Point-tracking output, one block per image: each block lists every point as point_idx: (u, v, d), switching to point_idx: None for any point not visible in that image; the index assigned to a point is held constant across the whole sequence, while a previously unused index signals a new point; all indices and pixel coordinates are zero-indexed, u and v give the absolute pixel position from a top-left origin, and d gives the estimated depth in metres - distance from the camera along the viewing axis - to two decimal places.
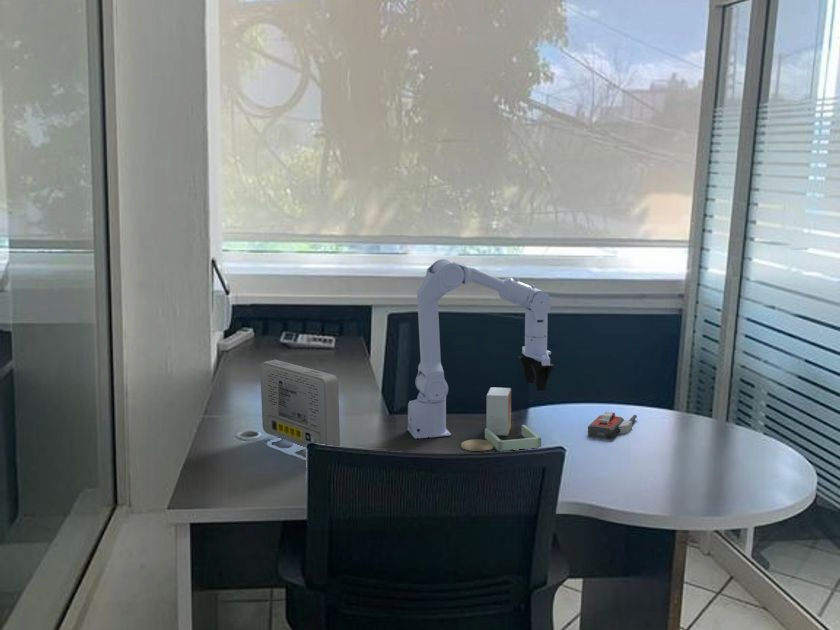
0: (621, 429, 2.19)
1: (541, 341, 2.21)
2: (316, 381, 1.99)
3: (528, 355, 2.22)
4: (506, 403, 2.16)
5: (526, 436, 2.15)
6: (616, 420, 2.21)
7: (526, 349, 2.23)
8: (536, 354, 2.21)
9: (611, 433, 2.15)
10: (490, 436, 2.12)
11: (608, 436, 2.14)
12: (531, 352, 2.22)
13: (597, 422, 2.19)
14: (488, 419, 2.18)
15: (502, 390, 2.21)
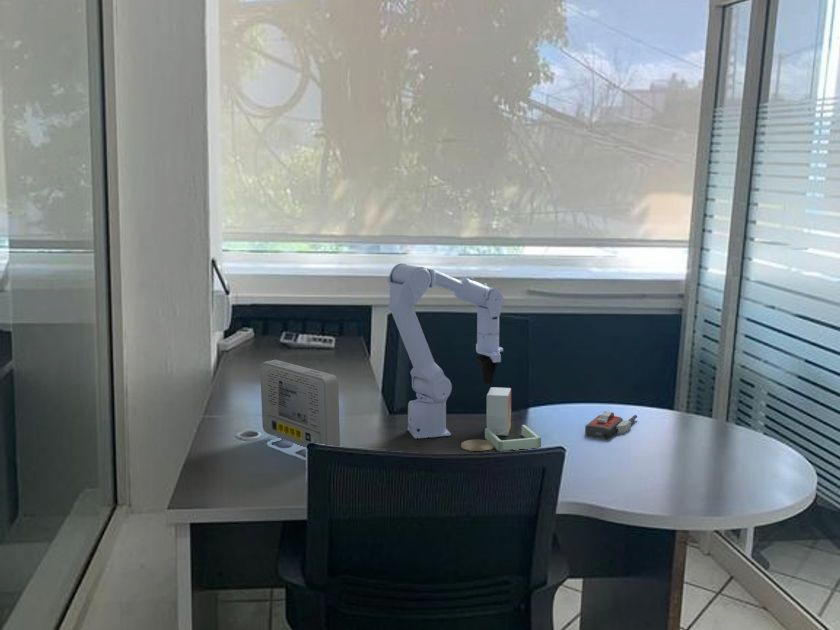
0: (619, 429, 2.18)
1: (493, 338, 2.24)
2: (316, 381, 1.99)
3: (480, 352, 2.25)
4: (506, 403, 2.16)
5: (526, 436, 2.15)
6: (614, 420, 2.21)
7: (478, 346, 2.26)
8: (488, 351, 2.24)
9: (608, 433, 2.15)
10: (490, 436, 2.12)
11: (605, 436, 2.14)
12: (483, 349, 2.25)
13: (595, 422, 2.20)
14: (488, 419, 2.18)
15: (502, 390, 2.21)
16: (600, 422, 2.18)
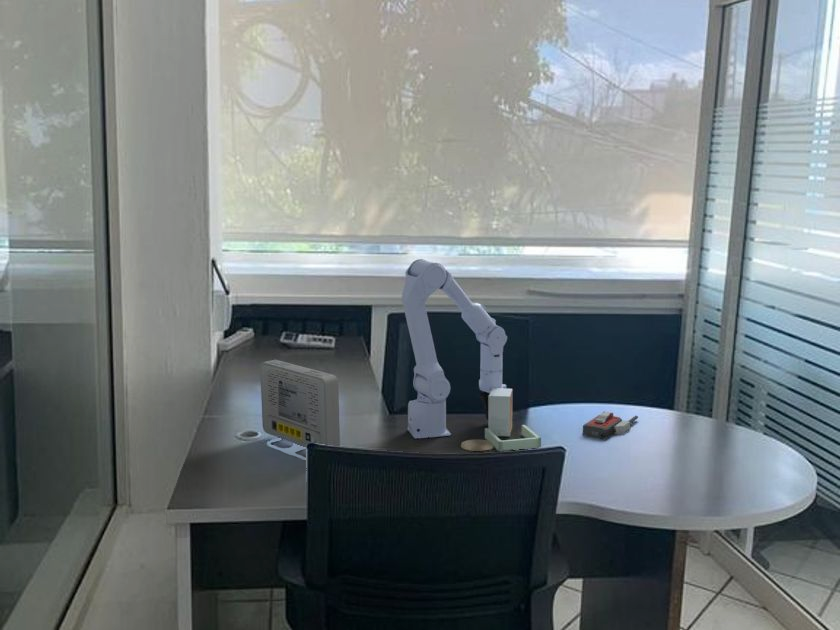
0: (617, 429, 2.18)
1: (496, 376, 2.23)
2: (316, 381, 1.99)
3: (483, 389, 2.24)
4: (508, 404, 2.15)
5: (526, 436, 2.15)
6: (613, 420, 2.21)
7: (481, 383, 2.25)
8: (491, 388, 2.23)
9: (605, 433, 2.15)
10: (490, 436, 2.12)
11: (601, 436, 2.14)
12: (486, 386, 2.24)
13: (593, 421, 2.20)
14: (490, 420, 2.17)
15: (504, 391, 2.20)
16: (598, 422, 2.18)
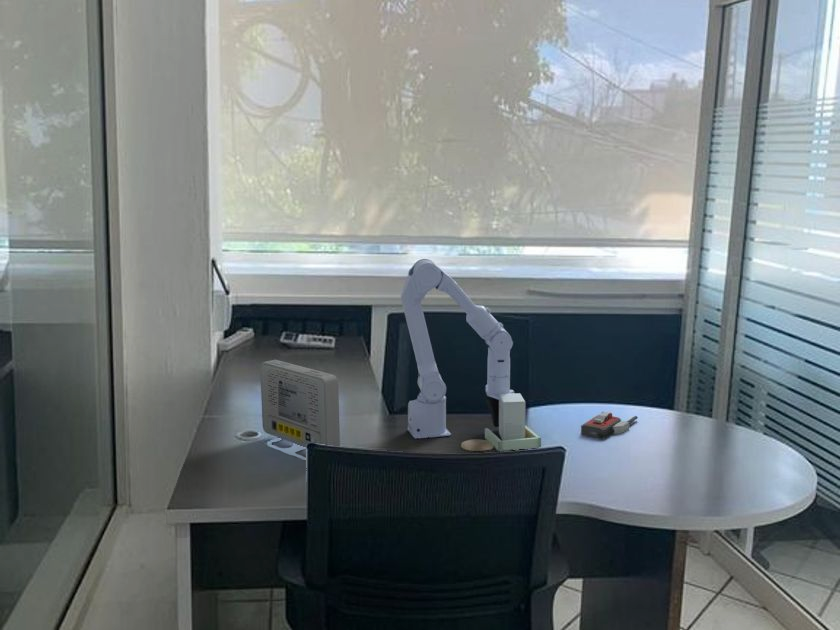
0: (615, 429, 2.18)
1: (503, 381, 2.17)
2: (316, 381, 1.99)
3: (490, 395, 2.18)
4: (523, 409, 2.11)
5: (526, 436, 2.15)
6: (612, 420, 2.21)
7: (488, 389, 2.19)
8: (498, 394, 2.18)
9: (603, 433, 2.15)
10: (490, 436, 2.12)
11: (599, 436, 2.14)
12: (493, 392, 2.18)
13: (591, 421, 2.20)
14: (505, 427, 2.11)
15: (514, 396, 2.15)
16: (596, 422, 2.19)
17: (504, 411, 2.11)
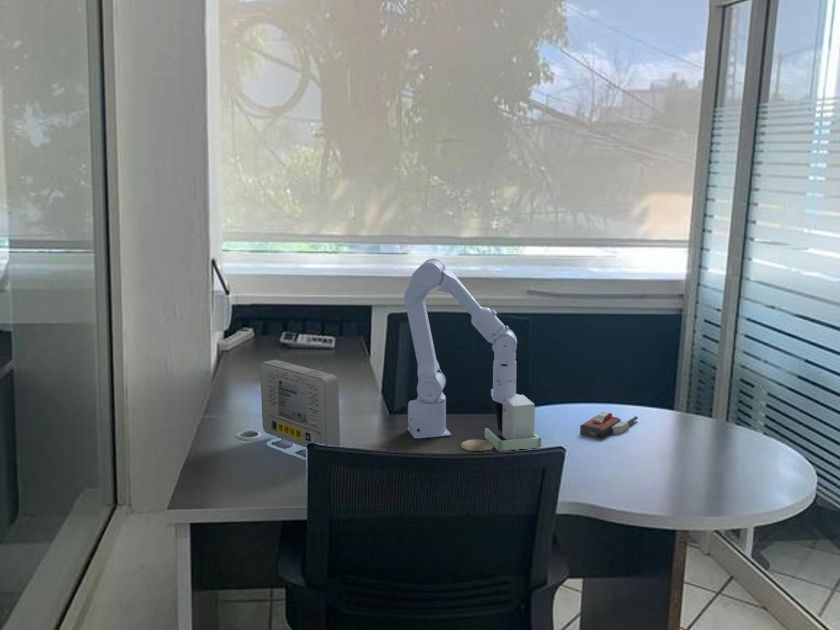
0: (614, 429, 2.18)
1: (509, 385, 2.13)
2: (316, 381, 1.99)
3: (496, 400, 2.14)
4: (533, 412, 2.09)
5: None
6: (611, 420, 2.21)
7: (494, 393, 2.15)
8: None
9: (602, 433, 2.15)
10: (490, 436, 2.12)
11: (598, 436, 2.14)
12: (499, 397, 2.14)
13: (591, 421, 2.20)
14: (515, 430, 2.09)
15: (520, 398, 2.12)
16: (595, 422, 2.19)
17: (514, 415, 2.08)
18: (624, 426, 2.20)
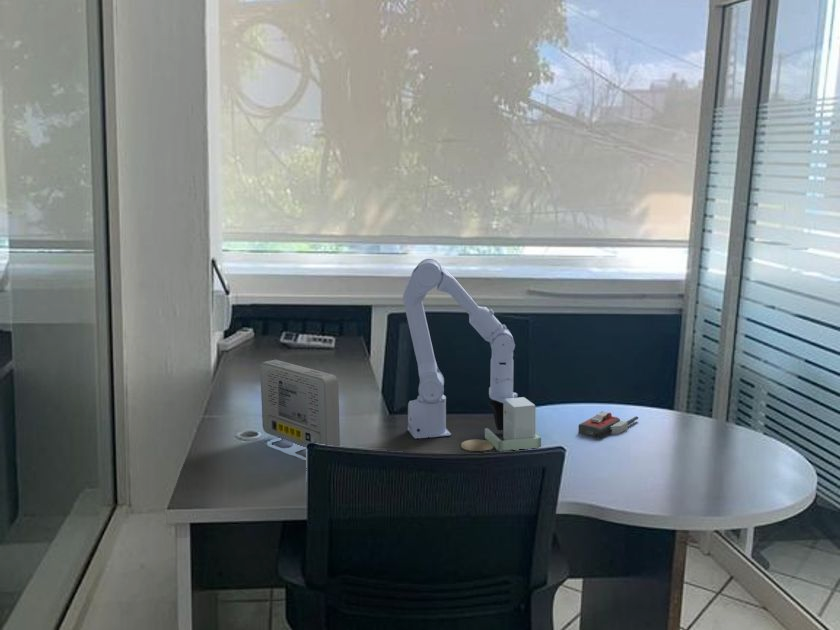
0: (613, 429, 2.18)
1: (507, 384, 2.15)
2: (316, 381, 1.99)
3: (493, 398, 2.16)
4: (533, 413, 2.08)
5: None
6: (610, 420, 2.21)
7: (491, 392, 2.17)
8: (501, 397, 2.15)
9: (599, 432, 2.15)
10: (490, 436, 2.12)
11: (595, 435, 2.15)
12: (496, 395, 2.16)
13: (589, 421, 2.20)
14: (516, 432, 2.08)
15: (521, 400, 2.12)
16: (594, 421, 2.19)
17: (515, 416, 2.07)
18: (623, 426, 2.20)
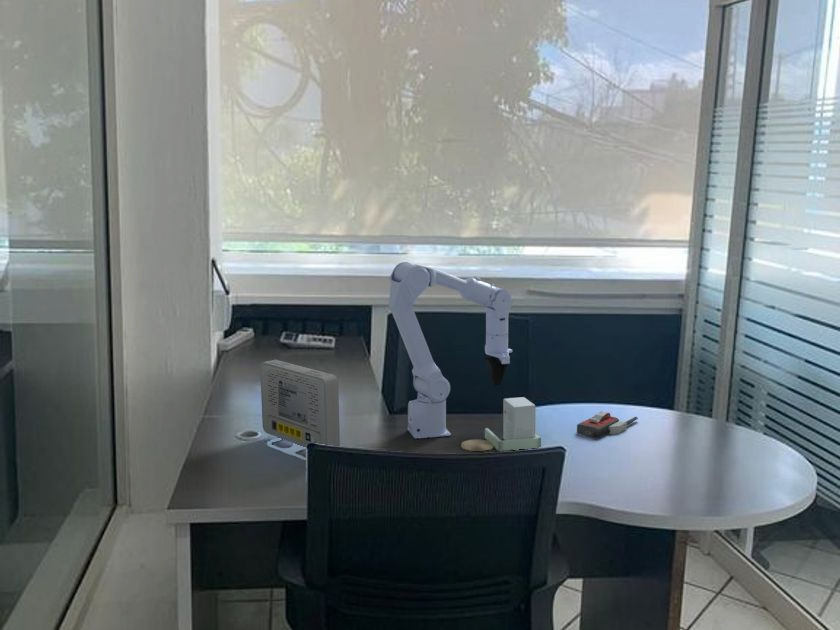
0: (611, 429, 2.19)
1: (501, 339, 2.21)
2: (316, 381, 1.99)
3: (489, 353, 2.23)
4: (533, 413, 2.08)
5: None
6: (609, 420, 2.21)
7: (487, 347, 2.23)
8: (497, 352, 2.22)
9: (597, 432, 2.16)
10: (490, 436, 2.12)
11: (593, 435, 2.15)
12: (492, 350, 2.22)
13: (588, 421, 2.21)
14: (516, 432, 2.08)
15: (521, 400, 2.12)
16: (592, 421, 2.19)
17: (515, 416, 2.07)
18: (621, 426, 2.20)
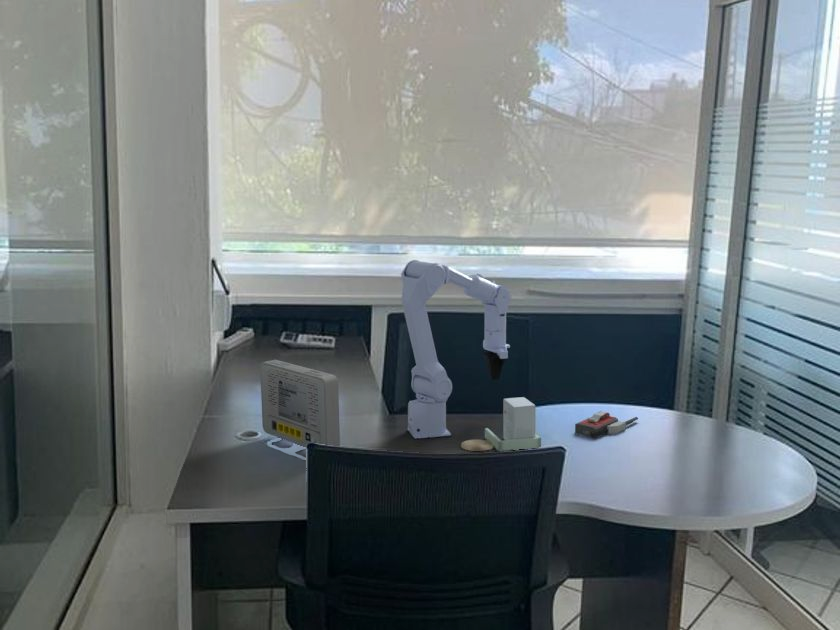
0: (609, 429, 2.18)
1: (500, 335, 2.27)
2: (316, 381, 1.99)
3: (487, 348, 2.28)
4: (533, 413, 2.08)
5: None
6: (607, 420, 2.21)
7: (485, 343, 2.29)
8: (495, 347, 2.28)
9: (595, 432, 2.16)
10: (490, 436, 2.12)
11: (591, 434, 2.15)
12: (490, 346, 2.28)
13: (586, 420, 2.21)
14: (516, 432, 2.08)
15: (521, 400, 2.12)
16: (590, 421, 2.19)
17: (515, 416, 2.07)
18: (620, 426, 2.20)
